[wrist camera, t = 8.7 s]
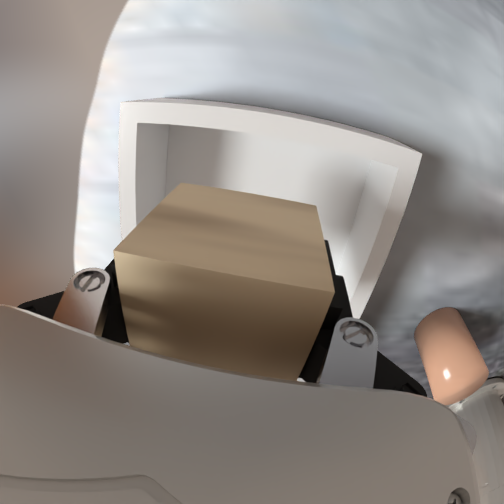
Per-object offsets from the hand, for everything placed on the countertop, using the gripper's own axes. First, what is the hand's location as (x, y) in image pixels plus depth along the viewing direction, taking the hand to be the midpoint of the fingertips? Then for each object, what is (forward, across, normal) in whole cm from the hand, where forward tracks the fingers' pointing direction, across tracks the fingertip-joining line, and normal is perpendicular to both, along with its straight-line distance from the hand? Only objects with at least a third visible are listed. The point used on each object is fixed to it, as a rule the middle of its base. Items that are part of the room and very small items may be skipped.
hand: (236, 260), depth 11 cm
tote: (+8, 0, +4) cm, 9 cm away
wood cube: (+1, 0, 0) cm, 1 cm away
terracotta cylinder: (+8, -18, +9) cm, 22 cm away
